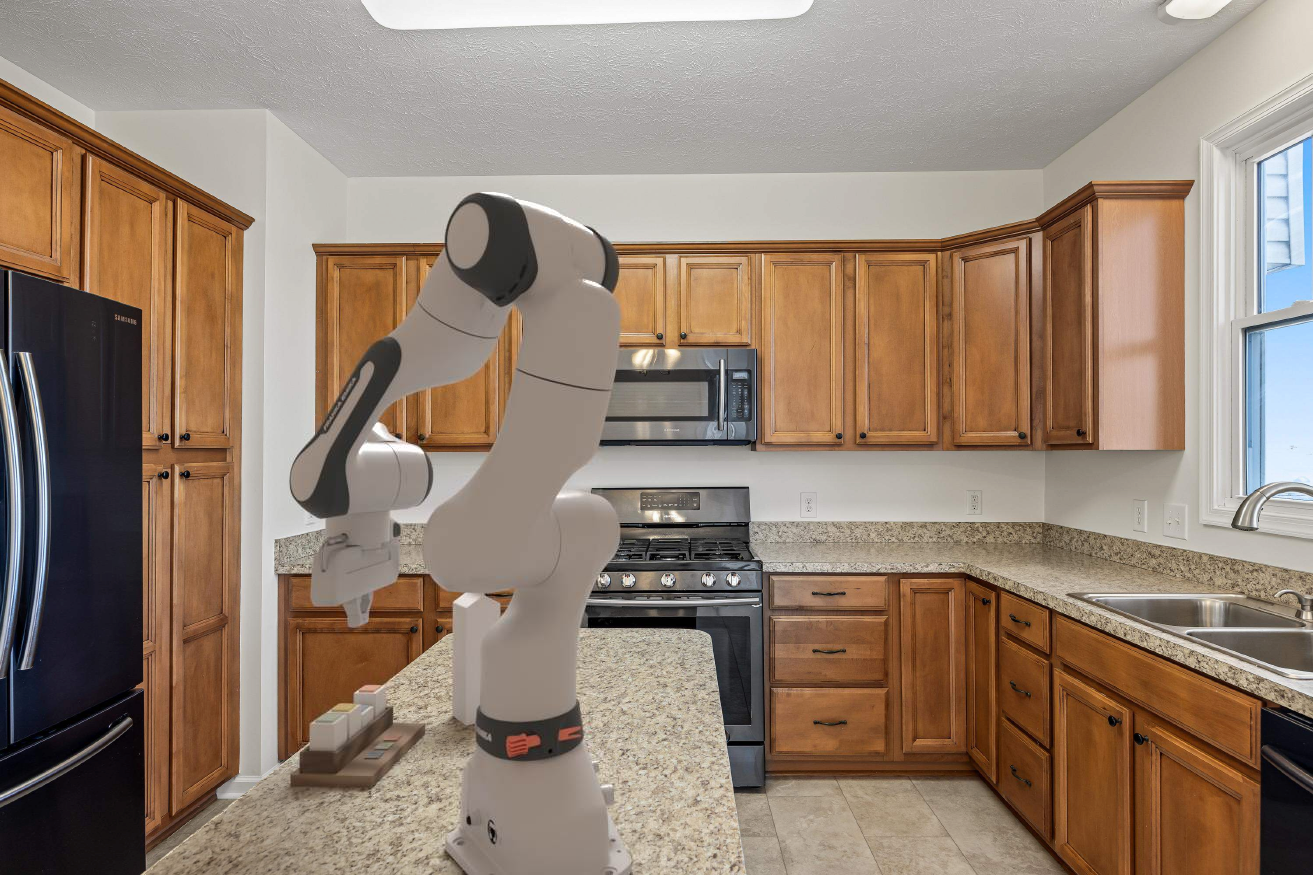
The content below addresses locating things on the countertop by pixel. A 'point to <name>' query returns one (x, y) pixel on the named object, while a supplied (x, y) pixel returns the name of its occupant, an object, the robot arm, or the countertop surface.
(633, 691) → the countertop surface
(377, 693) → the key terracotta
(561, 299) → the robot arm
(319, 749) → the key sage
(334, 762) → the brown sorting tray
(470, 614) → the milk
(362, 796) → the countertop surface
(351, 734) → the key mustard
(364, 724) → the key slate
